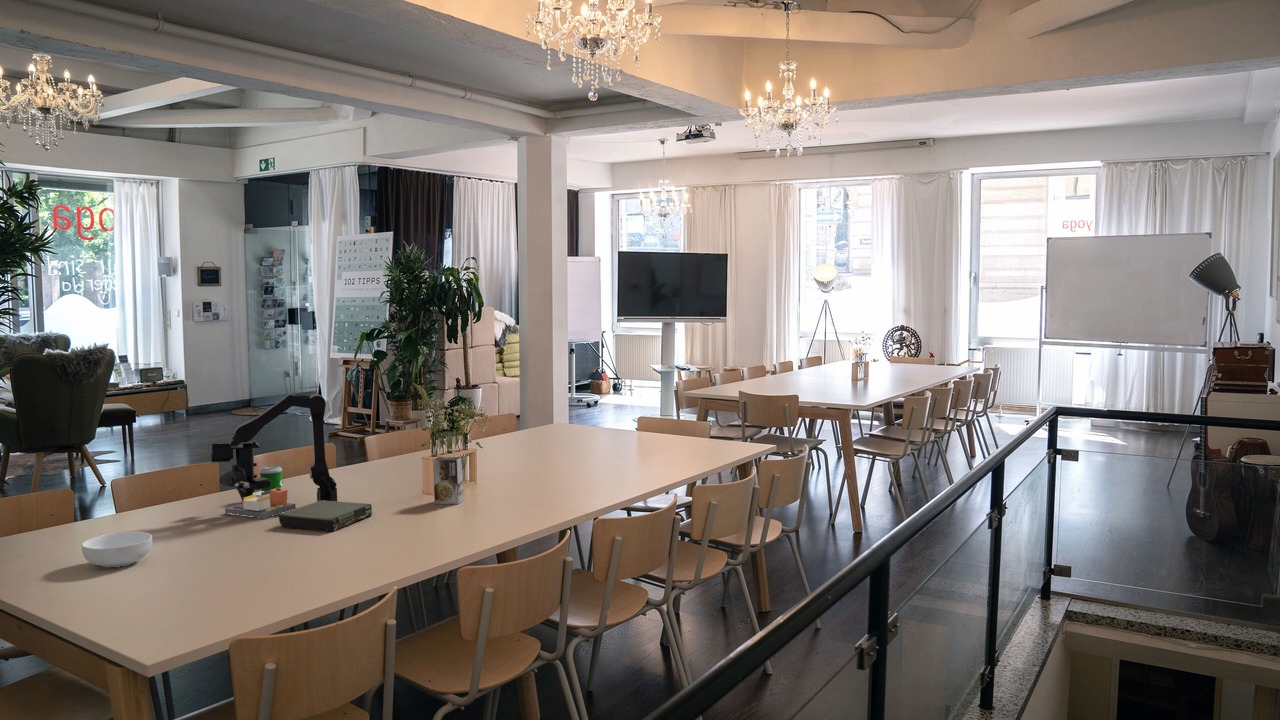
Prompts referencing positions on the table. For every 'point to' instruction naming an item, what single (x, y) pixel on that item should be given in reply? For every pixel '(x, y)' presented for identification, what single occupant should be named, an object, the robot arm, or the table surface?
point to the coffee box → (448, 480)
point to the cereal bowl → (117, 548)
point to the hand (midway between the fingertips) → (245, 505)
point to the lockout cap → (278, 496)
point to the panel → (262, 513)
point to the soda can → (272, 476)
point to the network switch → (325, 515)
